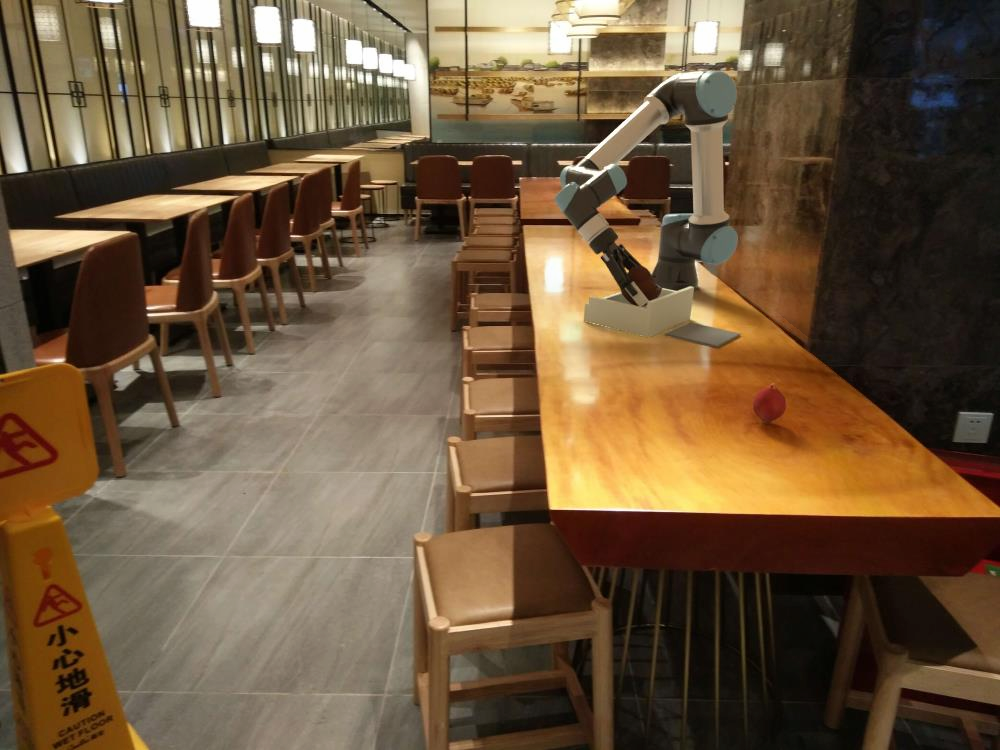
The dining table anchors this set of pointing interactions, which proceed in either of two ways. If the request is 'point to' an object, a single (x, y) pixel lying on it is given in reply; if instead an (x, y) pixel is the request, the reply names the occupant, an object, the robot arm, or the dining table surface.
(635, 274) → the ice cream bowl
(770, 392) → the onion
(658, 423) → the dining table surface
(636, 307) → the drawer
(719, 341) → the slate mat
